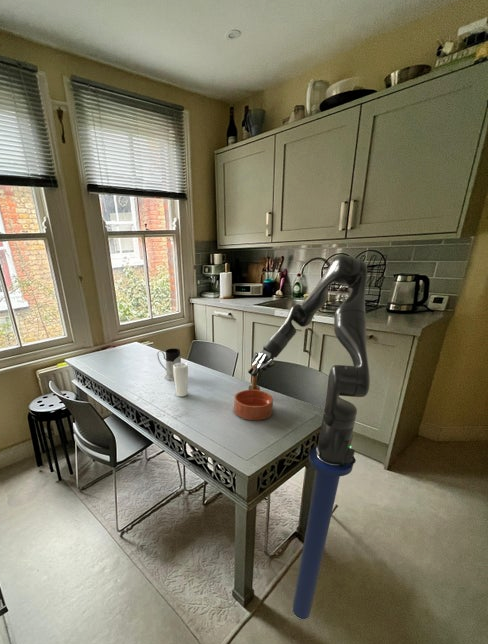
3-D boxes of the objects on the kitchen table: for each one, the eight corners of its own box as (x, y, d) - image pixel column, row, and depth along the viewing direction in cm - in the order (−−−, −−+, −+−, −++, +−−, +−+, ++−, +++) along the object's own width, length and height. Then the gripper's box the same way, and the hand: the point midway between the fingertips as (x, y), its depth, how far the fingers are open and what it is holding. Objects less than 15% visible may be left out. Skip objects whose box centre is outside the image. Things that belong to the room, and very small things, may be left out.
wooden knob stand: (261, 392, 147) (263, 364, 141) (256, 396, 144) (258, 368, 138) (251, 389, 150) (253, 362, 144) (246, 393, 147) (247, 365, 141)
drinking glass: (175, 391, 154) (174, 362, 147) (189, 391, 153) (188, 362, 146) (173, 397, 148) (171, 367, 141) (187, 398, 147) (186, 368, 140)
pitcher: (176, 381, 164) (175, 354, 157) (154, 377, 170) (152, 350, 164) (185, 375, 170) (184, 349, 164) (163, 371, 177) (161, 345, 171)
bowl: (277, 409, 134) (279, 395, 132) (261, 425, 124) (262, 411, 121) (245, 399, 143) (246, 386, 141) (227, 413, 133) (227, 400, 130)
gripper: (290, 353, 137) (264, 384, 138) (271, 345, 149) (247, 373, 150) (281, 343, 133) (254, 375, 134) (262, 335, 145) (238, 364, 146)
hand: (251, 374), depth 142 cm, fingers closed on wooden knob stand
